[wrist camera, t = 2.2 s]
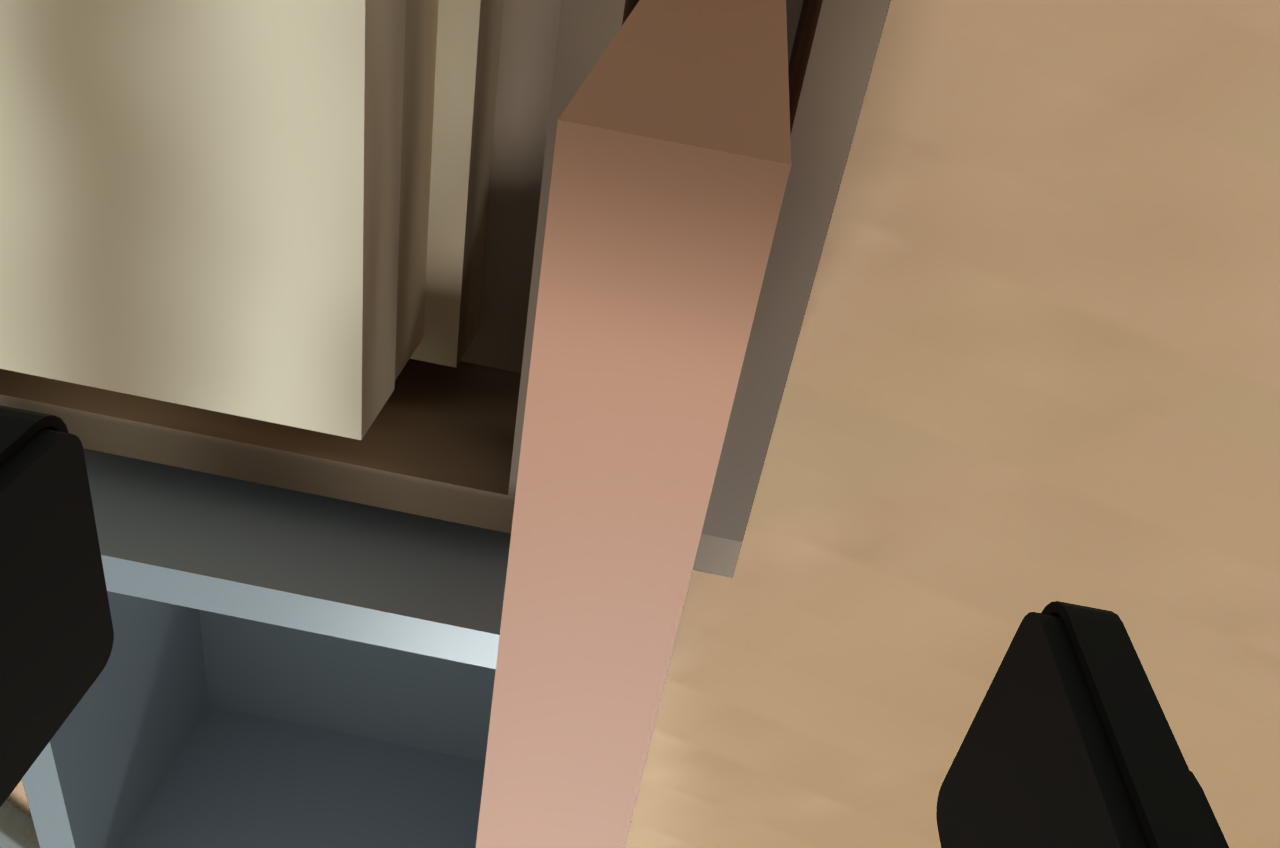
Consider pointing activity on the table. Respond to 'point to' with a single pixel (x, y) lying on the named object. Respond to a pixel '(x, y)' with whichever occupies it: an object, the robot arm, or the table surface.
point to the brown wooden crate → (527, 305)
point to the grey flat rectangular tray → (16, 828)
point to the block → (629, 401)
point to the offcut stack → (244, 197)
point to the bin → (276, 672)
